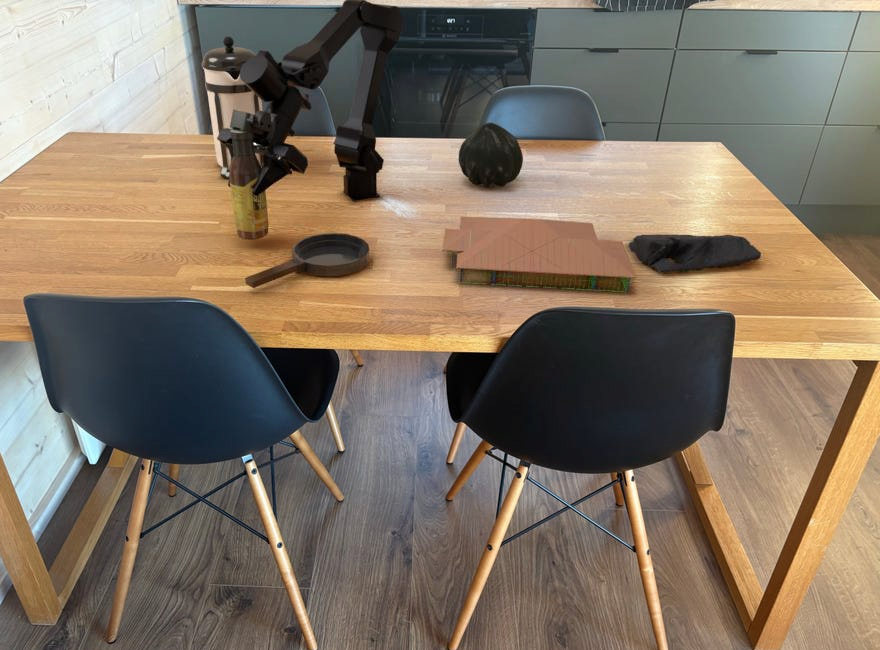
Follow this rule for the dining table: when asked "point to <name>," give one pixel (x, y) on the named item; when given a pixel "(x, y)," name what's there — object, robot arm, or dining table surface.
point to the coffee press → (228, 94)
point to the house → (536, 249)
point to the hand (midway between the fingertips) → (242, 191)
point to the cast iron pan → (332, 254)
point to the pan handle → (276, 273)
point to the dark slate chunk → (692, 251)
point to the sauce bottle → (247, 188)
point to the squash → (490, 156)
